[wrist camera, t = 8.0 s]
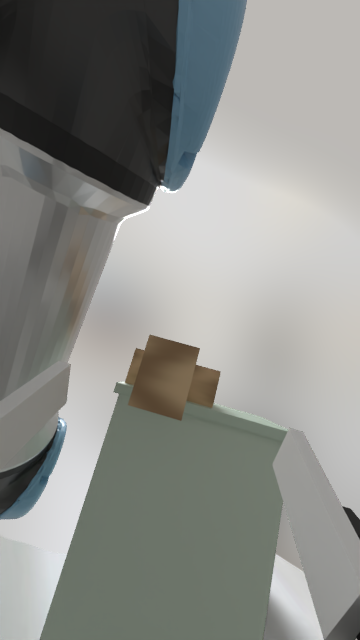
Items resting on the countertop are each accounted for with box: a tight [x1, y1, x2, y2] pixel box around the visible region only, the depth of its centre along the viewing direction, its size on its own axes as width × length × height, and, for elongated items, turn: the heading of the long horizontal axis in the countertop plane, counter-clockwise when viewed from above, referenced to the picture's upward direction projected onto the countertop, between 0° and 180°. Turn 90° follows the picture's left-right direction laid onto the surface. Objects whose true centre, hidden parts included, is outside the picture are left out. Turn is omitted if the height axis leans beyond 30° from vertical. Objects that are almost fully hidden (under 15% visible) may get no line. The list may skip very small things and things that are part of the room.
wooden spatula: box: [125, 335, 220, 421], centre depth 24 cm, size 10×22×4 cm, turn 0°
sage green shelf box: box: [40, 382, 288, 640], centre depth 25 cm, size 19×11×30 cm, turn 91°
